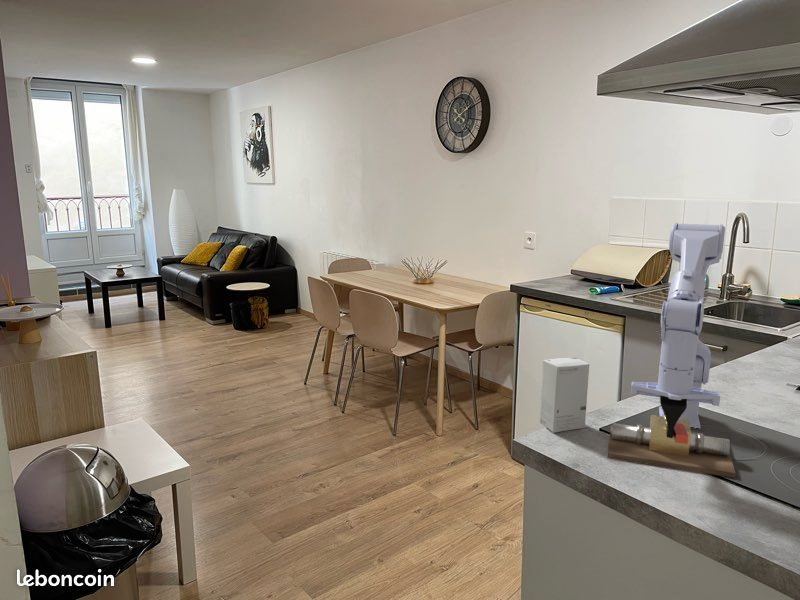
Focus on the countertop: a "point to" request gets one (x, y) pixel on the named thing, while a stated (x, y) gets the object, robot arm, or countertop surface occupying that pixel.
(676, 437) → the valve lever
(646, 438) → the valve housing
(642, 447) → the base board
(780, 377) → the countertop surface
